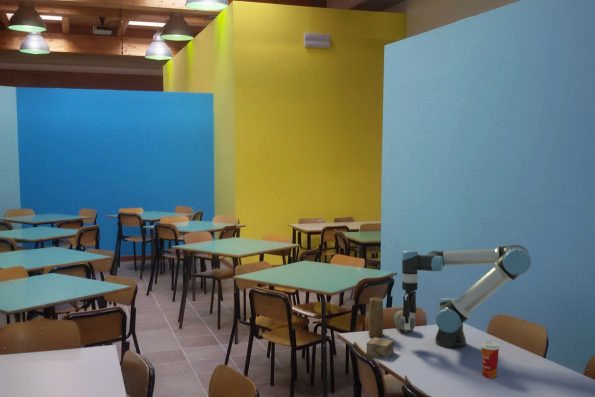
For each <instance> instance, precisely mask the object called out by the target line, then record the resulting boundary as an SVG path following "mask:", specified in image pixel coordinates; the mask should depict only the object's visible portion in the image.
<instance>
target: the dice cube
mask: <svg viewBox="0 0 595 397" xmlns="http://www.w3.org/2000/svg"><path fill="white" fill-rule="evenodd" d="M400 327H401V328H403V329H404V317H400ZM411 329H413V330H414V329H415V326H414V318H412V317H410V330H411Z"/></svg>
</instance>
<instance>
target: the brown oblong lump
mask: <svg viewBox="0 0 595 397" xmlns="http://www.w3.org/2000/svg"><path fill="white" fill-rule="evenodd" d="M368 305H369V306H368V336H369V337H370V338H374V337H376V338H382V337H383V335H384V334H383V333H384V301H383V298H382V297H380V296H375V297H374V296H373V297H370V298H369V303H368Z"/></svg>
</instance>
